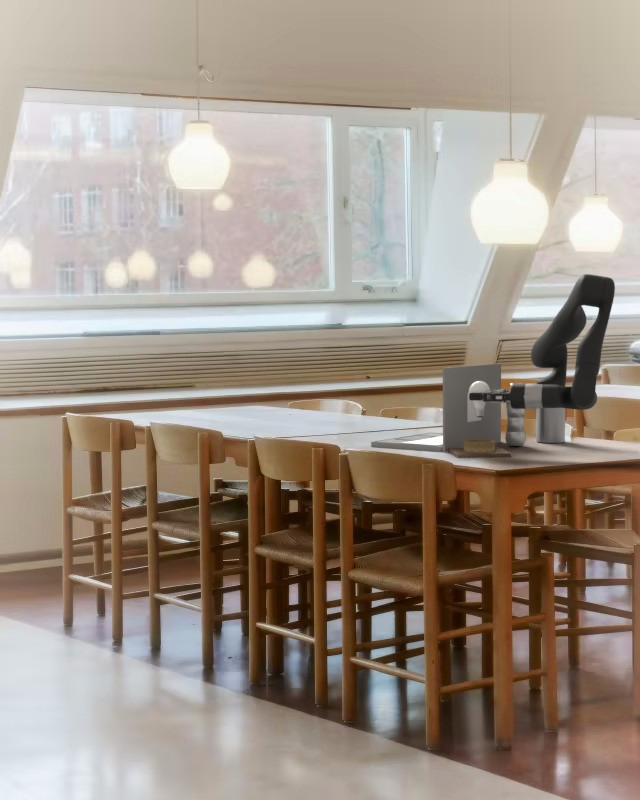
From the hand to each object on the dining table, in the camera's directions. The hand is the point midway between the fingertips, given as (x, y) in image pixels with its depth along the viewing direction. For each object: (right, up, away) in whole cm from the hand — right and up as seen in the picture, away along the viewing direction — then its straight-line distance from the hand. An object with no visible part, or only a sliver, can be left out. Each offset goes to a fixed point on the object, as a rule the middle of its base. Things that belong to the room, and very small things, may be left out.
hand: (471, 395), depth 390 cm
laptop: (-8, -16, +28) cm, 34 cm away
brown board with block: (+2, -18, +1) cm, 18 cm away
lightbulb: (+2, -7, 0) cm, 7 cm away
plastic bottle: (+16, -16, +20) cm, 31 cm away
